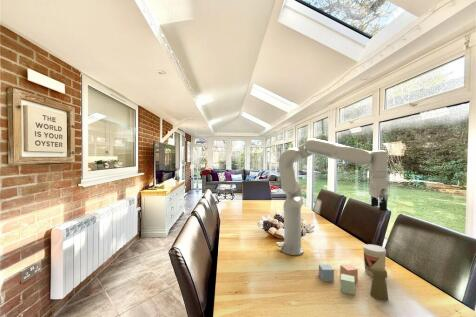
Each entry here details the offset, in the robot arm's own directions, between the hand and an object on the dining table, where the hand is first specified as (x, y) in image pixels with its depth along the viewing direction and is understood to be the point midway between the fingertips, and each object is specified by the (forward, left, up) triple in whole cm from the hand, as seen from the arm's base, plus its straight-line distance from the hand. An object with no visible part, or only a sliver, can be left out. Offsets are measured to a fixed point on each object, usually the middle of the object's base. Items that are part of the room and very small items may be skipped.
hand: (378, 208), depth 115 cm
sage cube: (-21, -27, -29) cm, 45 cm away
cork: (-10, -29, -29) cm, 42 cm away
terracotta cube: (-18, -17, -29) cm, 38 cm away
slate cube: (-28, -19, -29) cm, 45 cm away
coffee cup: (-5, -10, -29) cm, 31 cm away
